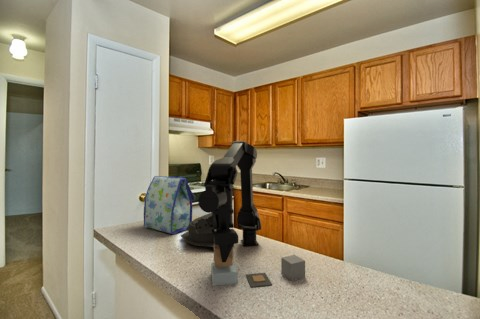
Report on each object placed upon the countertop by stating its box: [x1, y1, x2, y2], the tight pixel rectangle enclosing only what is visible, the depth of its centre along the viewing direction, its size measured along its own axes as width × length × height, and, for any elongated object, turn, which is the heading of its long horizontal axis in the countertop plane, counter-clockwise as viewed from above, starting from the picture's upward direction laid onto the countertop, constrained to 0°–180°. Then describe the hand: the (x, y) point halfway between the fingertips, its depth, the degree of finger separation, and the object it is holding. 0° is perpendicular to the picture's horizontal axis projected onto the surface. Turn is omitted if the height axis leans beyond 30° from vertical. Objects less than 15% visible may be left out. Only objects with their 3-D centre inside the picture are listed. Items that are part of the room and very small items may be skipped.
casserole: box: [180, 220, 214, 248], centre depth 103 cm, size 25×19×8 cm
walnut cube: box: [213, 244, 234, 267], centre depth 72 cm, size 5×5×5 cm
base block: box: [210, 261, 239, 286], centre depth 72 cm, size 7×7×4 cm
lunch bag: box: [143, 175, 196, 235], centre depth 123 cm, size 22×17×26 cm
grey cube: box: [280, 254, 306, 282], centre depth 74 cm, size 5×5×5 cm
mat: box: [245, 272, 273, 288], centre depth 71 cm, size 7×6×1 cm
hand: (222, 258), depth 72 cm, fingers closed on walnut cube, 5 cm apart
